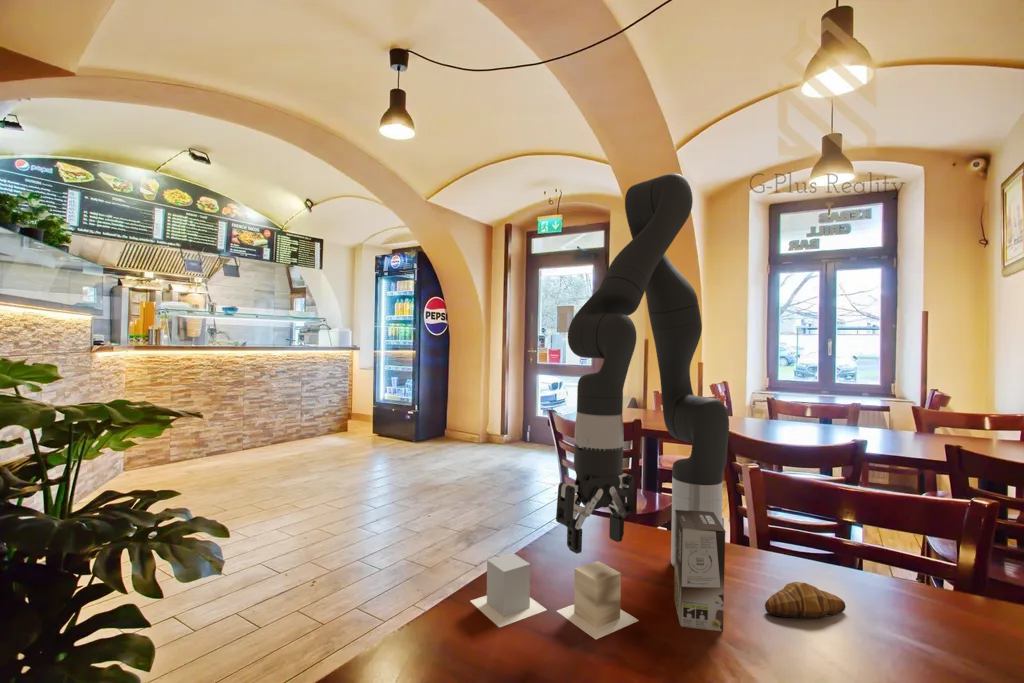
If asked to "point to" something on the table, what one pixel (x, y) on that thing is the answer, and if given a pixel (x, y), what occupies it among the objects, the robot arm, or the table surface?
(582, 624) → the code tile
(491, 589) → the grey block
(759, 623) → the table surface
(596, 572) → the maple block
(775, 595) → the croissant
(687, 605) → the coffee box
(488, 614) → the code tile
